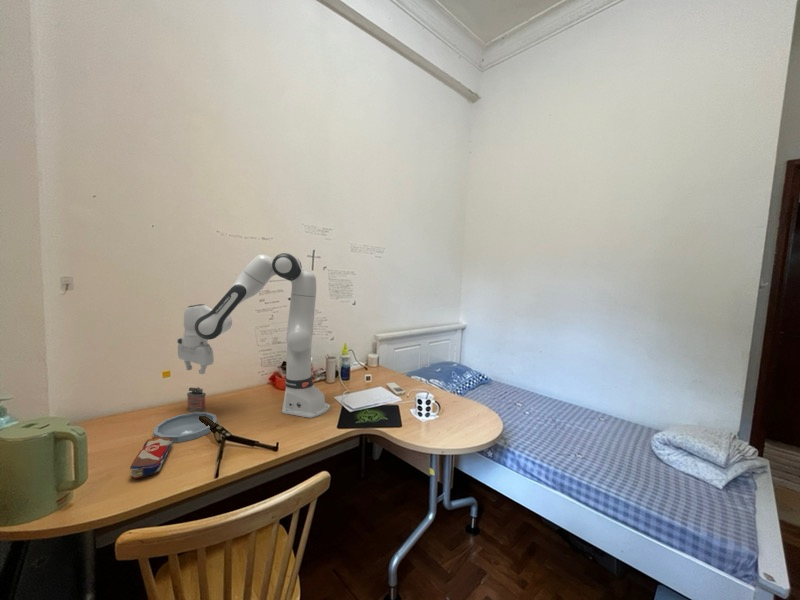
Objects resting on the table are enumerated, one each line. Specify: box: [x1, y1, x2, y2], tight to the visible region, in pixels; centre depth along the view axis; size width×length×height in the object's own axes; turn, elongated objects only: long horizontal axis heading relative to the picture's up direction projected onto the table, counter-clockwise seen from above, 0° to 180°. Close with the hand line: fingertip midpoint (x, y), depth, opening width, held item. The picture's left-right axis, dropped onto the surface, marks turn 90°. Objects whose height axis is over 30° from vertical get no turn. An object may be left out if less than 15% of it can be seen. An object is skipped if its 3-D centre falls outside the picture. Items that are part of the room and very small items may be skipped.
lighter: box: [186, 386, 206, 412], centre depth 136 cm, size 8×3×10 cm, turn 84°
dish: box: [152, 411, 218, 444], centre depth 120 cm, size 20×20×2 cm
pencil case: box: [129, 437, 173, 479], centre depth 99 cm, size 11×20×5 cm, turn 10°
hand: (195, 371), depth 135 cm, fingers open, 8 cm apart
